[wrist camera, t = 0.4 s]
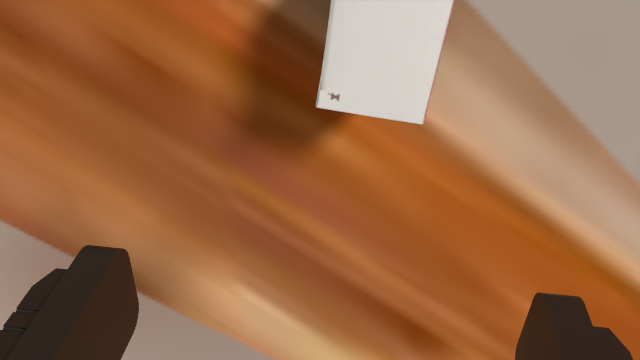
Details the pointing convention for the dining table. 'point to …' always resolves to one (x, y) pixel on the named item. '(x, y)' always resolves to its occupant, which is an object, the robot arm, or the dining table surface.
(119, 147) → the dining table surface
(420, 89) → the small box
